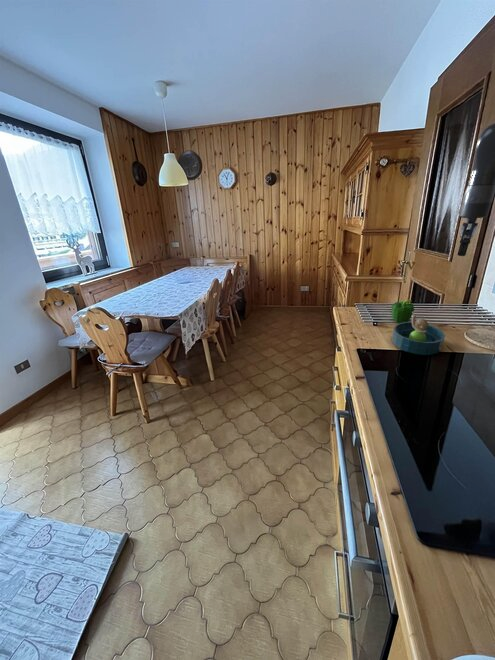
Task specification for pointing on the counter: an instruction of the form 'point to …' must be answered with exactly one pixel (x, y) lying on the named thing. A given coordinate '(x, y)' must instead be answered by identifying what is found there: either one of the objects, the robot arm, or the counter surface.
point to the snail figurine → (418, 329)
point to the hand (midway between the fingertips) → (462, 253)
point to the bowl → (423, 348)
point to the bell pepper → (402, 311)
